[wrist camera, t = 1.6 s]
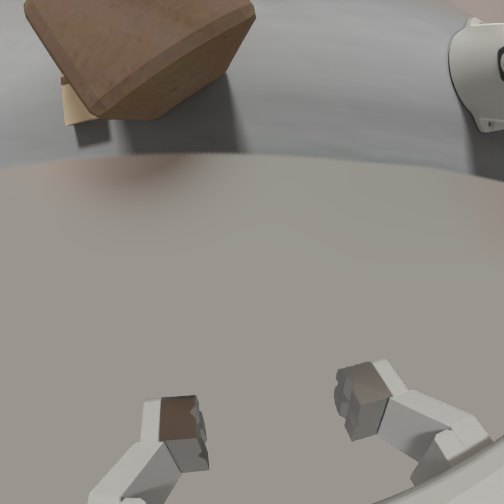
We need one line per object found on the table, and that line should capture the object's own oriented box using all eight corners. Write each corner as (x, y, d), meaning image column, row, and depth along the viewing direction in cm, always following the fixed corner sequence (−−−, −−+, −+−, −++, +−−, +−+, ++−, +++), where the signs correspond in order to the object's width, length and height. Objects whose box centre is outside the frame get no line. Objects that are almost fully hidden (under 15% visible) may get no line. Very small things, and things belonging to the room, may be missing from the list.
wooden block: (151, 124, 32) (93, 127, 13) (103, 57, 28) (12, 4, 9) (229, 72, 31) (268, 14, 12) (180, 5, 27) (166, -98, 8)
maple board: (101, -40, 22) (96, -49, 20) (106, 117, 30) (99, 116, 28) (70, -31, 22) (63, -39, 19) (73, 125, 30) (64, 125, 27)
